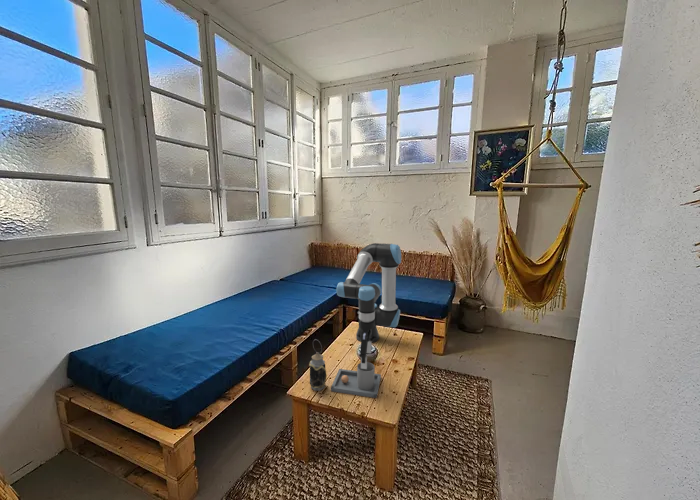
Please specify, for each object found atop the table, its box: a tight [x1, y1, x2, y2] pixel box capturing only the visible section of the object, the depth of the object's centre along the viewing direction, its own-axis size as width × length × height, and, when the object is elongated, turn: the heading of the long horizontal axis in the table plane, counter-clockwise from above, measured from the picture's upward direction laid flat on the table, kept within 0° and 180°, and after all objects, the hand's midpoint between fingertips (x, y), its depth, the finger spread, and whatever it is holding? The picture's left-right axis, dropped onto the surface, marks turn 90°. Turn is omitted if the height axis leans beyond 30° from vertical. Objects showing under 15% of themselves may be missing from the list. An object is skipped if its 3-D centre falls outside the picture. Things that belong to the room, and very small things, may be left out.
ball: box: [341, 375, 349, 383], centre depth 142 cm, size 4×4×4 cm
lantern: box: [308, 338, 327, 392], centre depth 137 cm, size 9×8×25 cm
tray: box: [330, 368, 382, 399], centre depth 141 cm, size 16×22×2 cm
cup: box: [356, 361, 376, 391], centre depth 139 cm, size 8×8×10 cm
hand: (366, 360), depth 138 cm, fingers open, 13 cm apart
